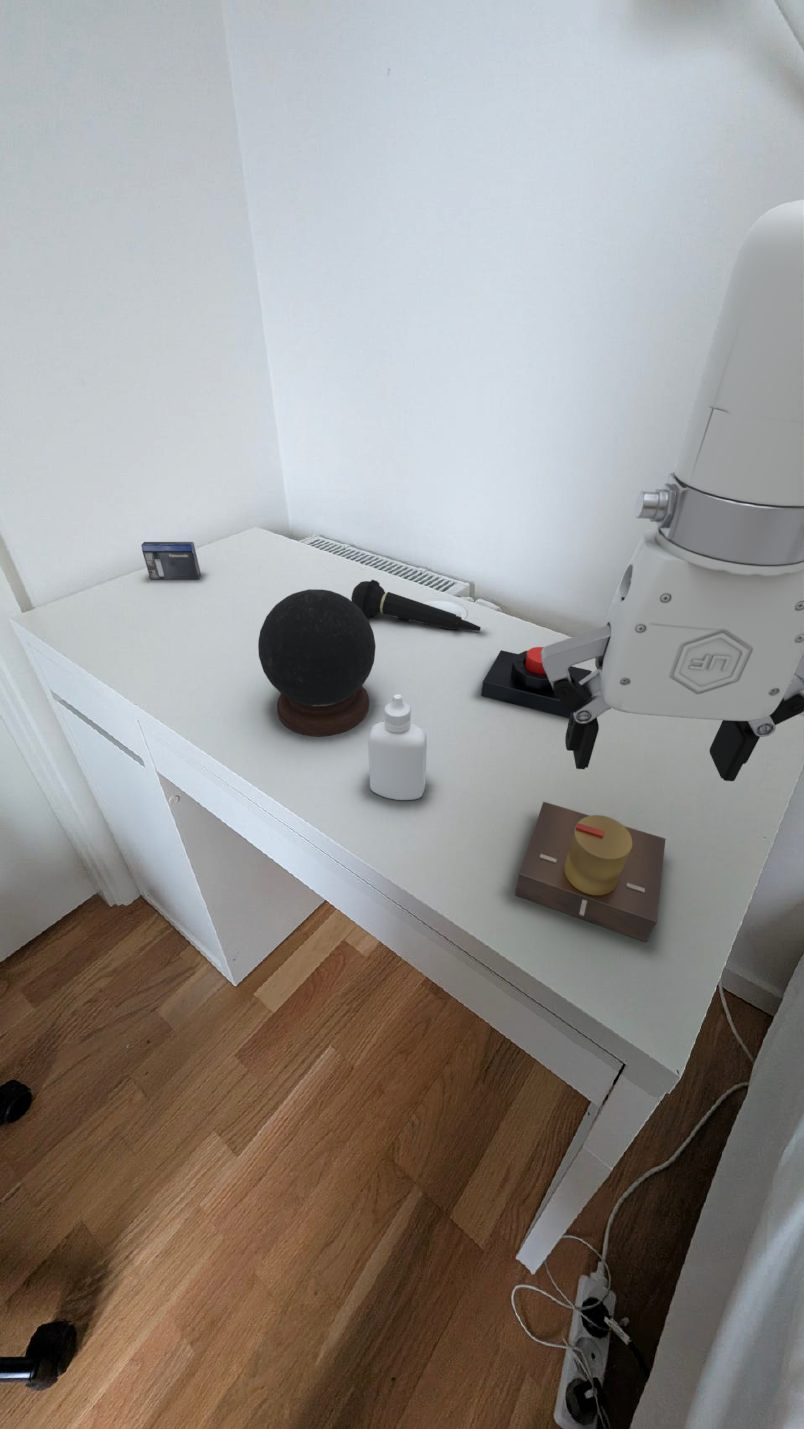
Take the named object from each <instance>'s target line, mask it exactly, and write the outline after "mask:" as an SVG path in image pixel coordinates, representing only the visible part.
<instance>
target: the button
mask: <svg viewBox="0 0 804 1429" xmlns="http://www.w3.org/2000/svg"><path fill="white" fill-rule="evenodd" d="M544 647H545V646H535V647H531V648H529V649H528V650H527V651H528V652H527V656H526V662H525V666H526V668H527V669H528V670H530V671H531V672H534V673H539V674H546V672H545V670H544V667H543V664H542V657H541V650H542V649H543V648H544Z"/></svg>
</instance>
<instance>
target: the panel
mask: <svg viewBox="0 0 804 1429" xmlns="http://www.w3.org/2000/svg"><path fill="white" fill-rule="evenodd" d="M587 816H590V815H589V814H587V813H586V814H585V813H583V812H581V811H577V810H573V809H569V808H567V807H563V806H560V805H556V804H553V803H550V802H547V801H542V804H541V807H540V810H539V813H538V816H537V819H536V822H535V825H534V827H533V831H532V834H531V837H530V839H529V843H528V846H527V848H526V852H525V854H524V858H523V861H522V864H521V867H520V870H519V873H518V877H517V880H516V886H515V891H514V895H515V896H517V897H520V898H523V899H526V900H528V901H531V902H533V903H536V904H539V905H542V906H545V907H548V908H551V909H552V910H556V911H559V912H561V913H564V914H568V915H570V916H573V917H576V918H578V919H581V920H584V921H586V922H589V923H592V924H594V925H597V926H600V927H602V928H606V929H609V930H612V931H614V932H617V933H620V934H623V935H625V936H628V937H630V938H634V939H636V940H639V941H642V942H645V943H647V942H648V940H649V938H650V936H651V935H652V932H653V930H654V928H655V926H656V924H657V923H658V914H659V906H660V905H659V904H660V894H661V887H662V876H663V866H664V858H665V850H666V849H665V848H666V840H667V839H666V838H665V837H661V836H658V835H654V834H653V833H652V834H651V833H648V832H645V831H641V830H639V829H635V828H633V827H629V826H625V825H623V826H624V827H625V828H626V829H627V830H628V832H629V833H630V835H631V838H632V849H631V851H630V854H629V856H628V859H627V861H626V864H625V866H624V869H623V871H622V874H621V876H620V879H619V881H618V884H617V886H616V888H615V889H614V890H613V891H611V892H610V893H608V894H605V895H590V894H586V893H584V892H582V891H580V890H578V889H577V888H575V887H574V886H573V885H572V884H571V883H570V882H569V880H568V879H567V877H566V875H565V871H564V865H565V861H566V857H567V854H568V851H569V847H570V844H571V840H572V837H573V833H574V830H575V827H576V825H577V823H578V822H579V821H580V820H581V819H583V818H585V817H587Z"/></svg>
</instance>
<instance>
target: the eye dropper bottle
mask: <svg viewBox="0 0 804 1429" xmlns="http://www.w3.org/2000/svg"><path fill="white" fill-rule="evenodd" d="M411 715H412V710H411V706H410V704H408V703H407V702H405V701H403V697H402V695H401V694H394V695H393V698H392V701H390V702H388V703H387V704H386V705H385V706H384V721H380V722H377V723H375V724H373V725H372V727H370V731H369V734H368V740H367V741H368V744H367V745H368V767H369V771H368V772H369V787H370V790H371V791H372V792H373V793H374V794H376V795H378V796H380V797H384V798H387V799H389V800H390V799H391V800H396V801H413V800H418V799H421V798H422V796H423V794H424V792H425V787H426V780H427V779H426V776H427V753H428V752H427V750H428V749H427V748H428V736H427V732H426V731H425V730H424V729H423V728H421V727H420V726H418V725H416V724H414V723H412V722H411V719H412V718H411Z"/></svg>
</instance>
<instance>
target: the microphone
mask: <svg viewBox="0 0 804 1429" xmlns="http://www.w3.org/2000/svg"><path fill="white" fill-rule="evenodd" d="M380 584H381V583H380V582H379V581H378V580H375V579H371V580H364V581H360V582H359V583H358V584H357V585H355V586H354V588H353V590H352V592H351V597H350V598H351V599H350V600H351V601H352V602H353V603H354V604H355V605H356V606H358V607H359V608H360V609H361V610H362V612H363V613H364V615H365V616H366V618H369V619H370V618H371V617H373V616H376V615H378V614H380V613H381V614H382V615H385V616H390V617H394V618H397V619H398V620H399V621H403V622H410V621H413V622H417V623H422V624H426V625H431V626H435V627H439V628H445V629H449V630H453V629H454V630H457V631H458V630H459V629H461V630H465V631H473V632H480V631H481V629H482V627H481V626H479V625H477V624H475V623H472V622H470V621H468V620H465V619H463V618H462V616H458V615H457V614H456V613H453V612H450V611H447V610H444V609H441V608H438V607H435V606H432V605H429V604H426V603H423V602H419V601H417V600H415V599H412V598H408V597H405V596H403V595H399V594H396V593H393V592H389V591H387V592H386V591H385V589H384V588H383V587H382V586H381V585H380Z"/></svg>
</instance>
